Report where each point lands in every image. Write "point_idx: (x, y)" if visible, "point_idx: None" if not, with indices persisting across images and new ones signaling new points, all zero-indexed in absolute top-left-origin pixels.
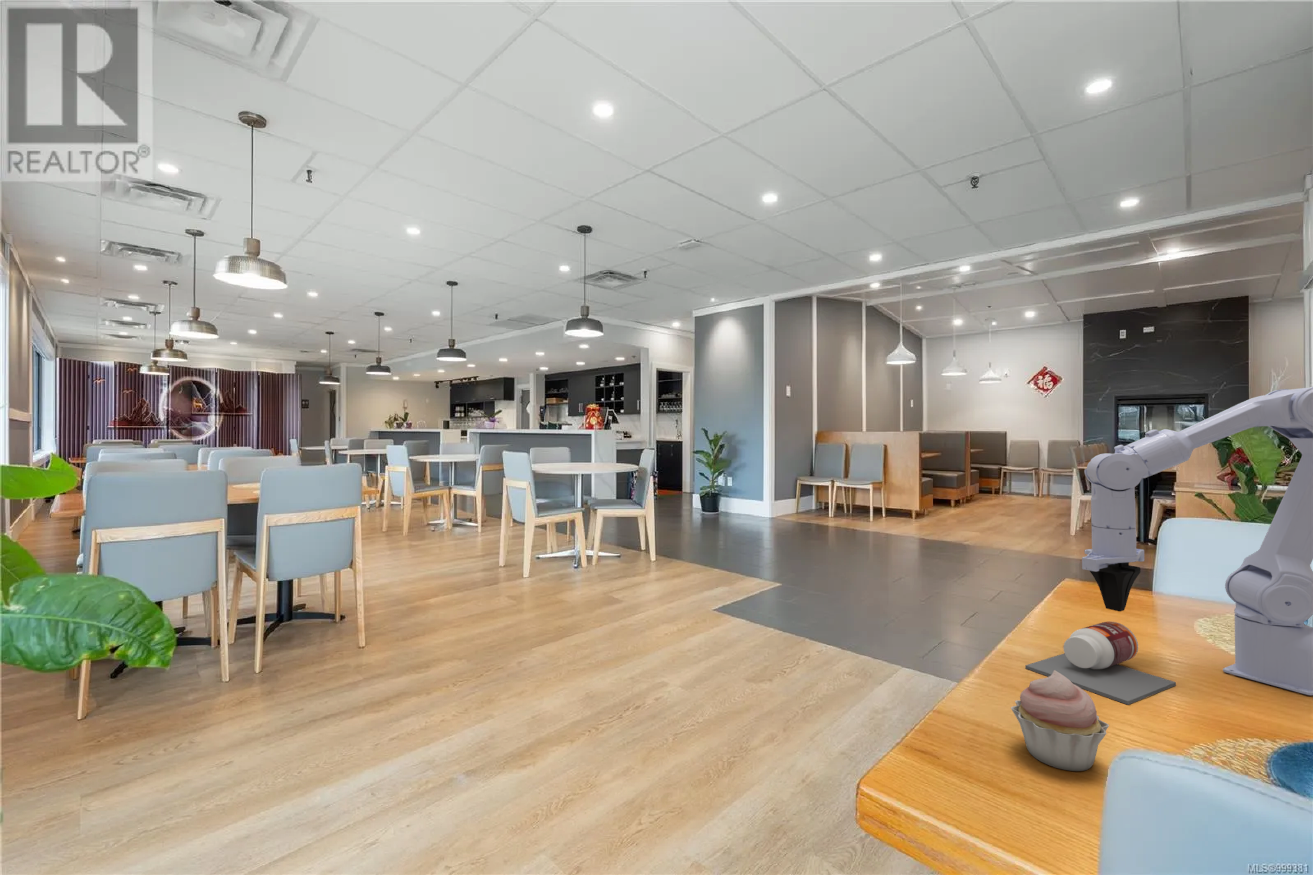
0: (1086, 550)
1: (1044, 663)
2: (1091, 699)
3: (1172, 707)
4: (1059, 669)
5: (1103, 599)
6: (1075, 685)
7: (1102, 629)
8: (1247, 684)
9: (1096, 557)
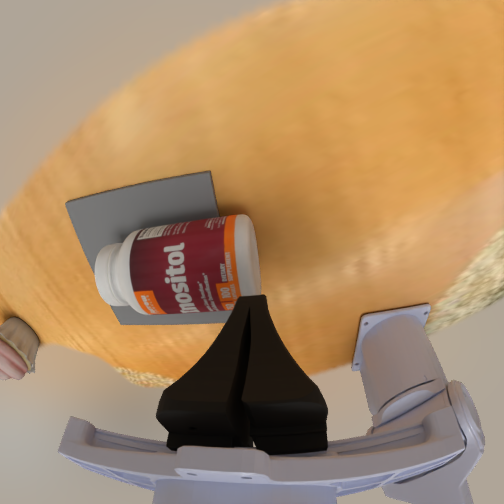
0: (178, 472)
1: (97, 206)
2: (19, 379)
3: (168, 340)
4: (103, 234)
5: (231, 314)
6: (11, 375)
7: (161, 307)
8: (339, 339)
9: (108, 473)
